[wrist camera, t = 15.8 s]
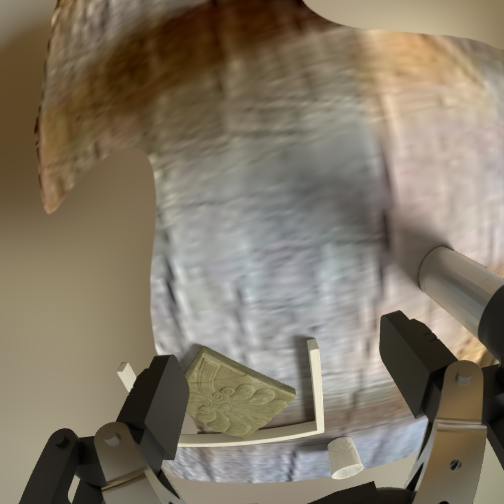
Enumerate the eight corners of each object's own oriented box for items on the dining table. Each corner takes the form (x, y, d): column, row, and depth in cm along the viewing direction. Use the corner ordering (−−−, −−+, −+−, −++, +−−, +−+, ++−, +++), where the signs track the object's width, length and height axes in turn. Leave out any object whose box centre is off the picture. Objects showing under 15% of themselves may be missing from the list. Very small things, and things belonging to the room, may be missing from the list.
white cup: (325, 439, 54) (333, 470, 44) (355, 432, 53) (365, 461, 44) (324, 453, 56) (330, 481, 46) (352, 446, 56) (360, 474, 46)
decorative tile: (204, 342, 45) (201, 355, 41) (296, 386, 48) (298, 399, 45) (164, 397, 49) (160, 409, 46) (244, 431, 53) (244, 443, 49)
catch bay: (315, 338, 44) (319, 348, 41) (321, 422, 51) (324, 432, 49) (122, 362, 46) (116, 371, 43) (168, 437, 53) (166, 446, 50)
